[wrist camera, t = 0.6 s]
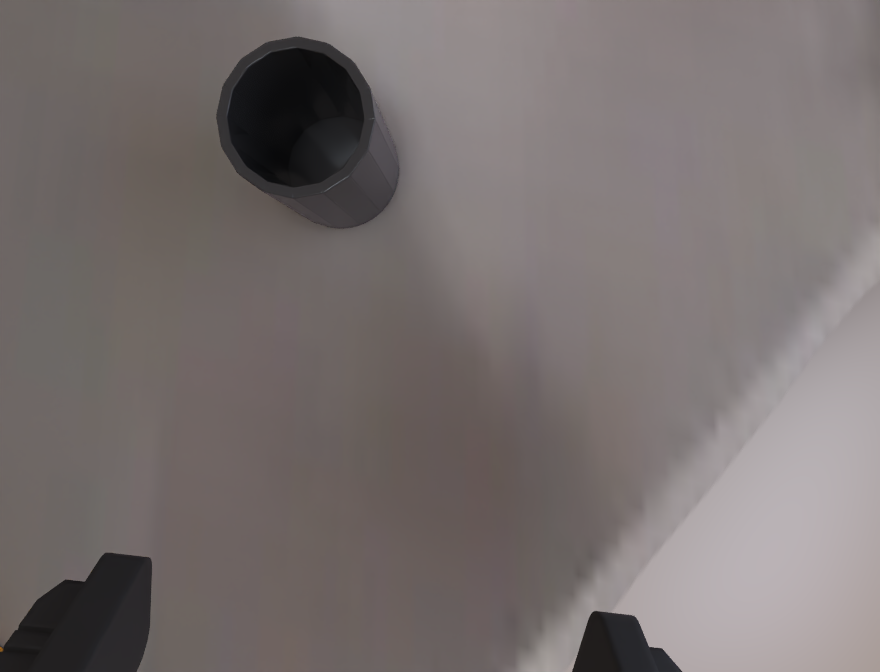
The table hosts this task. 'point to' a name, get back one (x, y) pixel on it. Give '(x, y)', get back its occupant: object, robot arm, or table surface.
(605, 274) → the table surface
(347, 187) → the bin
